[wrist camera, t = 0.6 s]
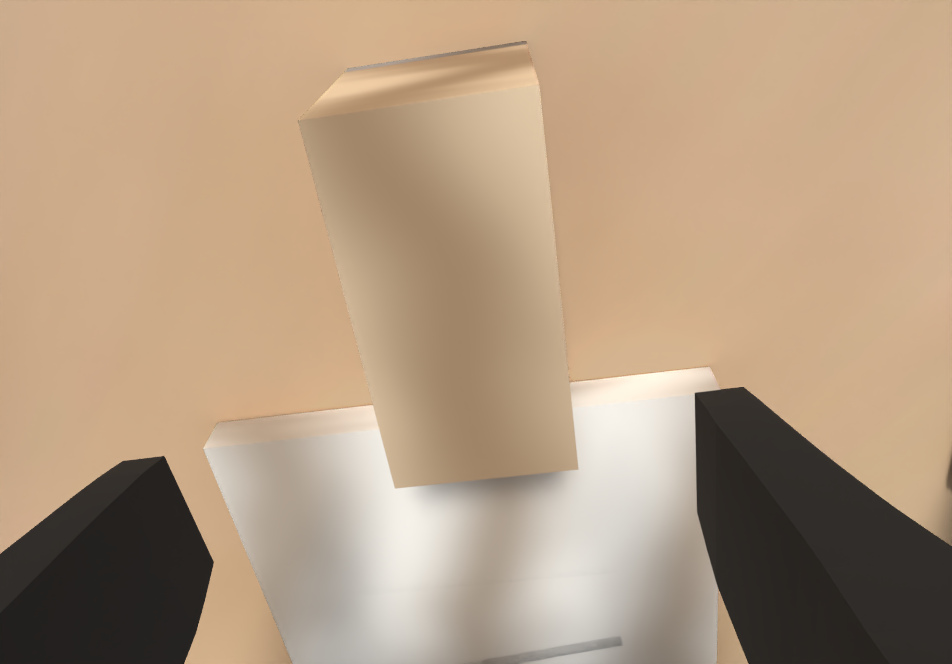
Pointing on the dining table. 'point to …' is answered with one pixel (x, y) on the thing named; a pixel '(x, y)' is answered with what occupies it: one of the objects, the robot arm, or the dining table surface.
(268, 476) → the board
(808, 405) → the dining table surface
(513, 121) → the block
